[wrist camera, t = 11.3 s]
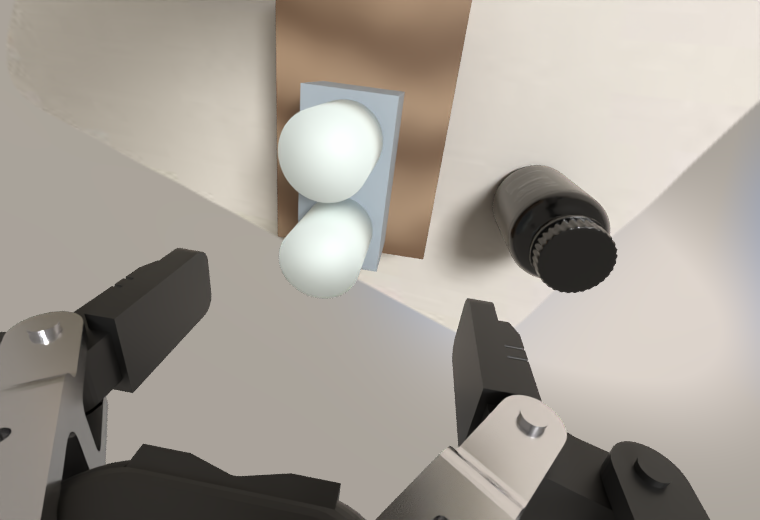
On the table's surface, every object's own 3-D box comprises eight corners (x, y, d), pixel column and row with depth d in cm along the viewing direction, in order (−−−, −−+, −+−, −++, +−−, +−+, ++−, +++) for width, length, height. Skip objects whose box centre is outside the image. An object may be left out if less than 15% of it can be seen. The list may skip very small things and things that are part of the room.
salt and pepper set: (323, 80, 25) (265, 85, 16) (404, 91, 25) (389, 103, 16) (317, 231, 30) (269, 297, 21) (384, 242, 30) (364, 313, 21)
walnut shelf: (308, -13, 29) (275, -36, 23) (465, 5, 28) (474, -13, 22) (303, 208, 37) (277, 236, 31) (424, 227, 36) (423, 259, 30)
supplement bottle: (485, 232, 36) (507, 300, 25) (499, 160, 33) (531, 203, 22) (559, 239, 35) (614, 312, 25) (581, 167, 32) (654, 213, 22)
